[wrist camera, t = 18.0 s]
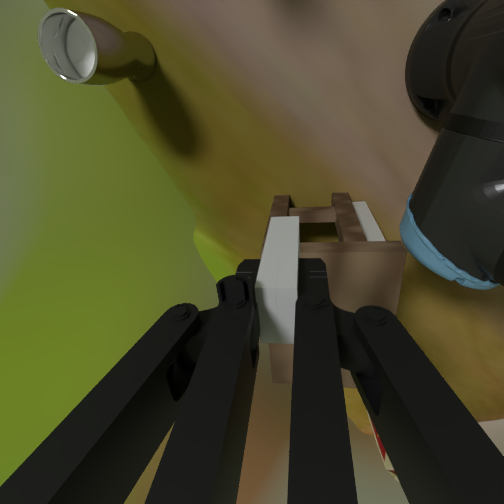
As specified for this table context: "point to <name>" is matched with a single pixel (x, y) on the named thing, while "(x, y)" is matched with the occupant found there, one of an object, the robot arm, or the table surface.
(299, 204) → the table surface
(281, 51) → the table surface
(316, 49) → the table surface
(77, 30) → the beer glass
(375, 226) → the gate leg
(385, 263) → the stool
